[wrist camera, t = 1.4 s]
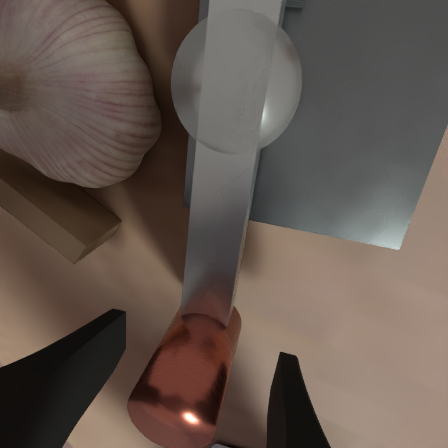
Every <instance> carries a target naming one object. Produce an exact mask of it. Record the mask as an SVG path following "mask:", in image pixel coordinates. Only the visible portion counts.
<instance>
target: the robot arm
mask: <svg viewBox="0 0 448 448" xmlns="http://www.w3.org/2000/svg"><path fill="white" fill-rule="evenodd" d="M125 349H126V312H125V311H121V310H117V309H111V310H109V311H108V312H106V313H104V314H103V315H101V316H99V317H98V318H96V319H94V320H93V321H91V322H89V323H88V324H86V325H85V326H83V327H81V328H79V329H78V330H76V331H74V332H73V333H71V334H69V335H67V336H66V337H64V338H62V339H60V340H58V341H56V342H55V343H53V344H51V345H49V346H47V347H45V348H43V349H41V350H39V351H37V352H35V353H33V354H31V355H29V356H27V357H25V358H22V359H20V360H18V361H16V362H13V363H11V364H8V365H6V366H3V367H1V368H0V448H62V447H63V445H64V444H65V442H66V440H67V438H68V437H69V435H70V433H71V432H72V430H73V429H74V427H75V426H76V424H77V422H78V421H79V419H80V418H81V417H82V415H83V414H84V412H85V411H86V410H87V408H88V407H89V405H90V404H91V403H92V401H93V400H94V398H95V397H96V395H97V394H98V393H99V391H100V390H101V388H102V387H103V386H104V384H105V383H106V381H107V380H108V378H109V377H110V375H111V374H112V373H113V371H114V369H115V368H116V366H117V364H118V362H119V360H120V358H121V357H122V355H123V353H124V351H125ZM212 448H230V447H227V446H224V445H221V444H215V445H213V446H212ZM266 448H331V447H330V445H329V443H328V441H327V439H326V437H325V434H324V432H323V430H322V428H321V425H320V423H319V421H318V418H317V416H316V414H315V411H314V408H313V406H312V403H311V400H310V398H309V395H308V392H307V389H306V386H305V383H304V380H303V377H302V373H301V370H300V366H299V362H298V358H297V357H296V356H295V355H291V354H287V353H284V352H280V355H279V358H278V362H277V366H276V370H275V374H274V378H273V382H272V385H271V390H270V398H269V406H268V414H267V447H266Z"/></svg>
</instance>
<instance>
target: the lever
mask: <svg viewBox="0 0 448 448" xmlns="http://www.w3.org/2000/svg"><path fill="white" fill-rule="evenodd" d="M303 1H304V0H209V11H208V17H207V18H205V19H204V20H202V21H201V22H200V23H198V24H197V25H196V26H195V27H194V28H193V29H192V30H191V31H190V32H189V33H188V35H187V36H186V37H185V39H184V40H183V42H182V43H181V45H180V47H179V49H178V51H177V54H176V57H175V59H174V63H173V67H172V74H171V93H172V99H173V104H174V107H175V110H176V113H177V115H178V117H179V119H180V121H181V123H182V124H183V126H184V128H185V129H186V130H187V131H188V133H189V134H190V135H191V136H192V137H193V138H194V139H195V140H196V151H195V162H194V173H193V184H192V194H191V205H190V216H189V227H188V238H187V249H186V259H185V270H184V281H183V292H182V303H181V307H180V308H179V310H178V312H177V314H176V315H175V317H174V319H173V321H172V323H171V324H170V326H169V328H168V330H167V331H166V333H165V335H164V337H163V338H162V340H161V342H160V344H159V345H158V347H157V349H156V351H155V353H154V354H153V356H152V358H151V360H150V361H149V363H148V365H147V367H146V368H145V370H144V372H143V374H142V375H141V377H140V379H139V381H138V383H137V384H136V386H135V388H134V390H133V391H132V393H131V395H130V397H129V399H128V405H127V406H128V413H129V416H130V418H131V420H132V422H133V424H134V425H135V426H136V428H137V429H138V430H139V431H140V432H141V433H142V434H143V435H144V436H146V437H147V438H148V439H150V440H151V441H153V442H154V443H156V444H158V445H160V446H163V447H165V448H204V447H205V446H207V445H208V444H209V443H210V442H211V441H212V440H213V438H214V436H215V432H216V428H217V424H218V420H219V416H220V412H221V408H222V404H223V400H224V396H225V392H226V387H227V383H228V379H229V375H230V371H231V367H232V363H233V359H234V355H235V351H236V347H237V343H238V339H239V335H240V331H241V318H240V315H239V313H238V311H237V309H236V308H235V307H234V302H235V297H236V291H237V285H238V279H239V273H240V267H241V262H242V256H243V250H244V244H245V238H246V232H247V227H248V221H249V215H250V209H251V203H252V198H253V192H254V186H255V180H256V174H257V168H258V163H259V157H260V151H261V148H263V147H265V146H267V145H268V144H270V143H272V142H273V141H274V140H275V139H276V138H278V137H279V136H280V135H281V134H282V132H283V131H284V130H285V129H286V128H287V126H288V125H289V123H290V122H291V120H292V118H293V116H294V114H295V112H296V109H297V107H298V104H299V100H300V96H301V89H302V71H301V65H300V60H299V56H298V54H297V51H296V48H295V46H294V45H293V43H292V41H291V39H290V38H289V36H288V35H287V34H286V32H285V31H284V30H283V29H282V23H283V17H284V11H285V7H294V8H302V6H303Z"/></svg>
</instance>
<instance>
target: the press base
mask: <svg viewBox="0 0 448 448" xmlns="http://www.w3.org/2000/svg"><path fill="white" fill-rule="evenodd" d="M208 11H209V0H200V6H199V18H198V23H200V22H201V21H202V20H204V19H205V18H207V17H208ZM282 29H283V30H284V31H285V32H286V34H287V35H288V36H289V38H290V39H291V41H292V43H293V45H294V46H295V48H296V51H297V54H298V56H299V60H300V65H301V71H302V89H301V96H300V100H299V104H298V107H297V109H296V112H295V114H294V116H293V118H292V120H291V122H290V123H289V125H288V126H287V128H286V129H285V130H284V131H283V132H282V134H281V135H280V136H279V137H278V138H276V139H275V140H274V141H273V142H272V143H270V144H268V145H267V146H265V147H263V148H261V151H260V157H259V163H258V168H257V174H256V180H255V186H254V192H253V198H252V203H251V209H250V215H249V220H252V221H257V222H262V223H267V224H272V225H277V226H282V227H287V228H292V229H297V230H302V231H307V232H312V233H317V234H322V235H327V236H332V237H337V238H342V239H347V240H352V241H357V242H362V243H367V244H372V245H377V246H382V247H387V248H392V249H397V250H399V248H400V246H401V243H402V241H403V238H404V236H405V233H406V230H407V228H408V225H409V223H410V220H411V217H412V215H413V212H414V210H415V207H416V205H417V202H418V199H419V197H420V194H421V192H422V189H423V186H424V184H425V181H426V179H427V176H428V174H429V171H430V168H431V166H432V163H433V161H434V158H435V155H436V153H437V150H438V148H439V145H440V143H441V140H442V137H443V135H444V132H445V130H446V127H447V125H448V0H304V1H303V6H302V8H294V7H285V11H284V17H283V23H282ZM195 151H196V140H195V139H194V138H193V137H192V136H191V135H190V134H189V139H188V151H187V163H186V175H185V187H184V199H183V207H186V208H190V205H191V194H192V184H193V173H194V162H195Z"/></svg>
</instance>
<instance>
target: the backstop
mask: <svg viewBox="0 0 448 448" xmlns="http://www.w3.org/2000/svg"><path fill="white" fill-rule="evenodd" d="M0 206H1V207H2V208H4V209H5V210H6V211H8V212H9V213H10V214H11V215H13V216H14V217H15V218H16V219H18V220H19V221H20V222H21V223H23V224H24V225H25V226H27V227H28V228H29V229H30V230H32V231H33V232H34V233H35V234H37V235H38V236H39V237H40V238H42V239H43V240H44V241H46V242H47V243H48V244H49V245H51V246H52V247H53V248H54V249H56V250H57V251H58V252H59V253H61V254H62V255H63V256H65V257H66V258H67V259H68V260H70V261H71V262H72V263H73V264H75V263H77V262H78V261H79V260H81V259H82V258H84V257H85V256H86V255H88V254H89V253H90V252H92V251H93V250H94V249H96V248H97V247H99V246H100V245H101V244H103V243H104V242H105V241H107V240H108V239H109V238H111V237H112V235H113V234H114V232H115V231H116V229H117V228H118V226H119V225H120V224H121V221H120V220H119V219H117V218H116V217H115V216H114V215H113V214H111V213H110V212H109V211H108V210H106V209H105V208H104V207H103V206H101V205H100V204H99V203H98V202H97V201H95V200H94V199H93V198H92V197H90V196H89V195H88V194H87V193H85V192H84V191H83V190H82V189H81V188H79V187H78V186H77V185H76V184H74V183H68V182H61V181H56V180H54V179H51V178H49V177H47V176H45V175H44V174H43V173H41V172H40V171H39V170H37V169H36V168H35V167H33V166H32V165H31V164H29V163H28V162H26V161H25V160H23V159H21V158H19V157H17V156H15V155H12V154H10V153H8V152H6V151H4V150H3V149H1V148H0Z"/></svg>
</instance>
